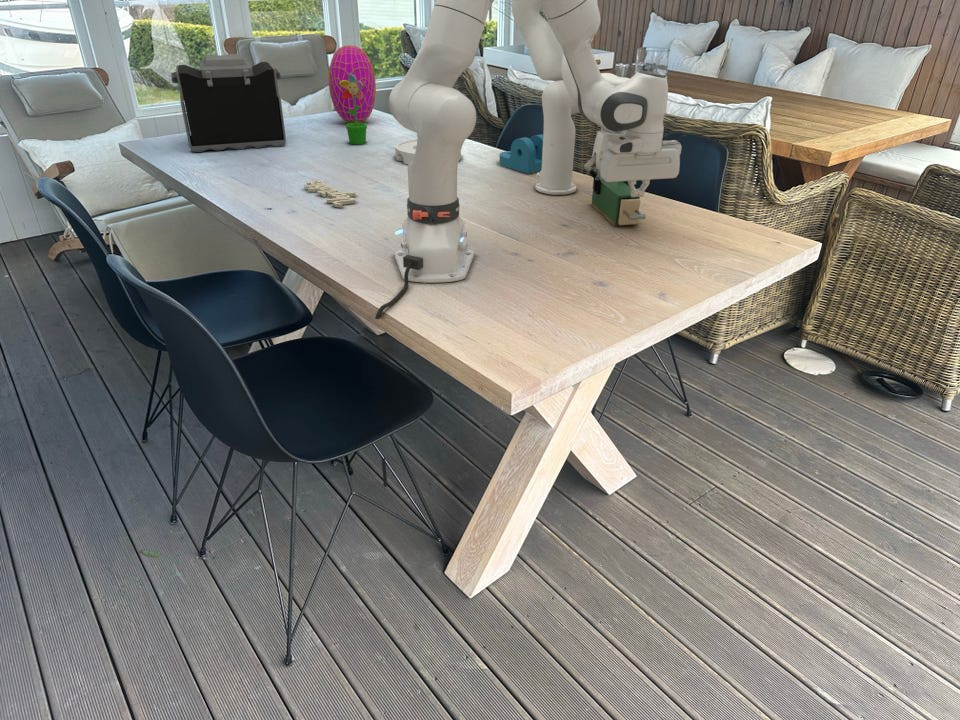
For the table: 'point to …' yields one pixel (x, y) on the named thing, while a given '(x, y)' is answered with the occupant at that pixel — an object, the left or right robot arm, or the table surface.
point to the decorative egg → (361, 68)
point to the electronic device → (230, 103)
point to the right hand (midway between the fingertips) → (608, 191)
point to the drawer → (629, 211)
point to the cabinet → (611, 199)
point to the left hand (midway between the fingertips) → (637, 196)
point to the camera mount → (524, 155)
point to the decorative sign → (330, 193)
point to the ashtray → (407, 151)
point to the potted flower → (354, 129)
